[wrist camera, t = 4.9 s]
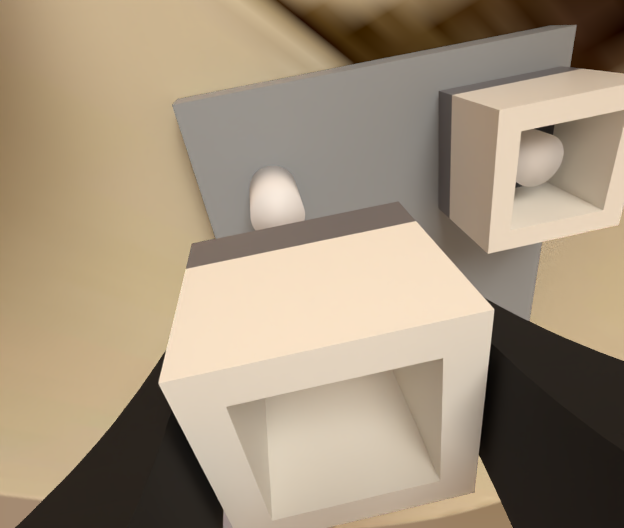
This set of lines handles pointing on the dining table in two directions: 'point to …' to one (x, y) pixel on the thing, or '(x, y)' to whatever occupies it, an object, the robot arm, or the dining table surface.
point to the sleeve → (329, 369)
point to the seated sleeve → (505, 151)
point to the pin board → (367, 147)
